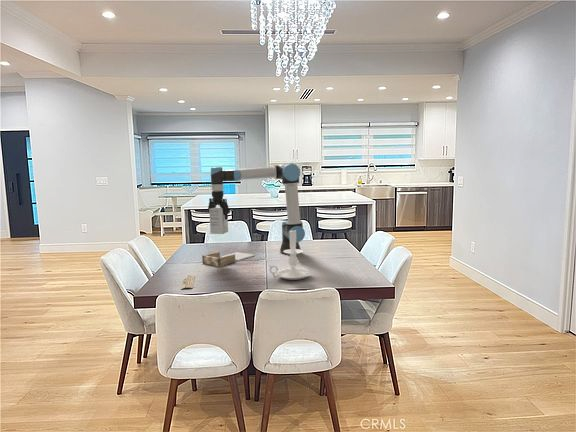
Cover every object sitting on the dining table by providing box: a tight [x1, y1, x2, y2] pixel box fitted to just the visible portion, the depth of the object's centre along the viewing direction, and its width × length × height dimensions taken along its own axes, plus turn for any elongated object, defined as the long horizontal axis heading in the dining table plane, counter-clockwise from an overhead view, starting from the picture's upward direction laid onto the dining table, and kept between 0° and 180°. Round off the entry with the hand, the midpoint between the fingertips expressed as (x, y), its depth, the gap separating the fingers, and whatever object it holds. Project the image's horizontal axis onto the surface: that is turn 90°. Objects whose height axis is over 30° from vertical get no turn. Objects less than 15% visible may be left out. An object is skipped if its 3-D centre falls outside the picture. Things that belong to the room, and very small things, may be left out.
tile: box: [220, 251, 255, 262], centre depth 278 cm, size 17×17×1 cm
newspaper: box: [180, 274, 196, 290], centre depth 219 cm, size 24×7×2 cm, turn 10°
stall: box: [201, 251, 236, 267], centre depth 264 cm, size 16×15×5 cm
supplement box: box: [208, 206, 229, 235], centre depth 262 cm, size 10×9×17 cm
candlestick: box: [268, 230, 313, 281], centre depth 222 cm, size 21×25×28 cm
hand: (219, 223), depth 262 cm, fingers closed on supplement box, 11 cm apart
